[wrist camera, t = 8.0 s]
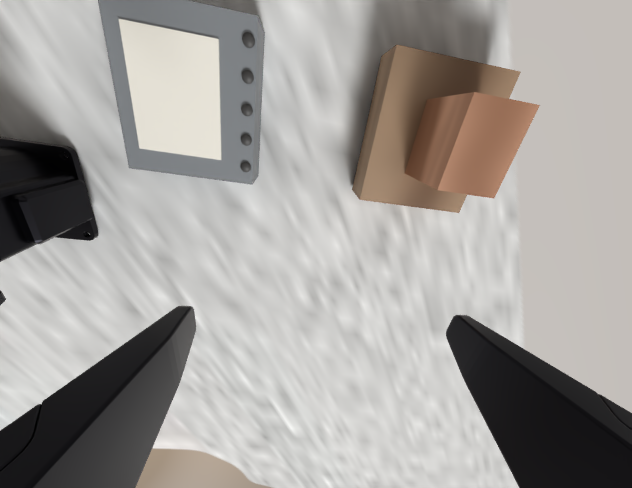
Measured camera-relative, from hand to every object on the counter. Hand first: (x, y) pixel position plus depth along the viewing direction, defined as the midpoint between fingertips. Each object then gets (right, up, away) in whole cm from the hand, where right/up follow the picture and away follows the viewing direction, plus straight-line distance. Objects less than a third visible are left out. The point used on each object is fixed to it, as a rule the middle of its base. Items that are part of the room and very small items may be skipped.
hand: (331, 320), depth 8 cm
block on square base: (+6, +10, +8) cm, 14 cm away
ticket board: (-7, +11, +7) cm, 15 cm away
